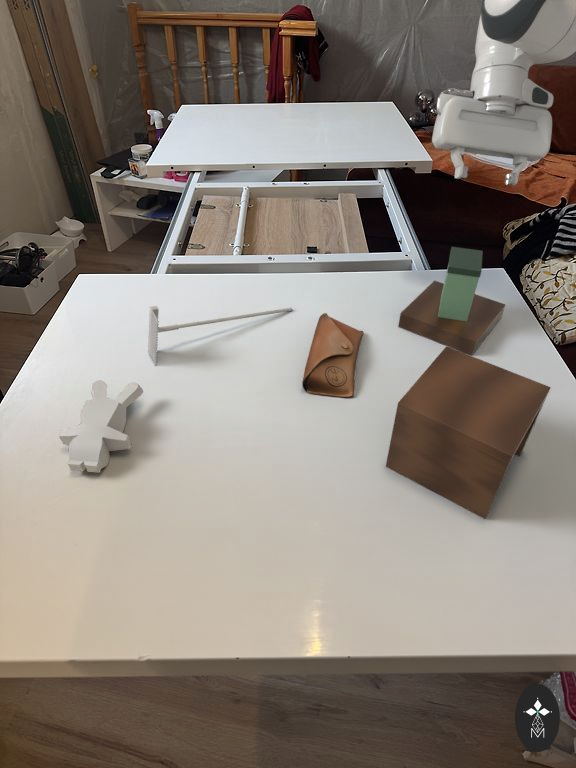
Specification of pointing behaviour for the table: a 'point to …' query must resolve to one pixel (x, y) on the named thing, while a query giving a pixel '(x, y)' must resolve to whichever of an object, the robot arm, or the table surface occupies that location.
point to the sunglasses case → (332, 359)
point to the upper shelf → (463, 428)
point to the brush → (155, 329)
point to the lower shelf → (451, 320)
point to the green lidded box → (460, 283)
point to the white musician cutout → (99, 428)
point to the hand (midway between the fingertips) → (486, 181)
